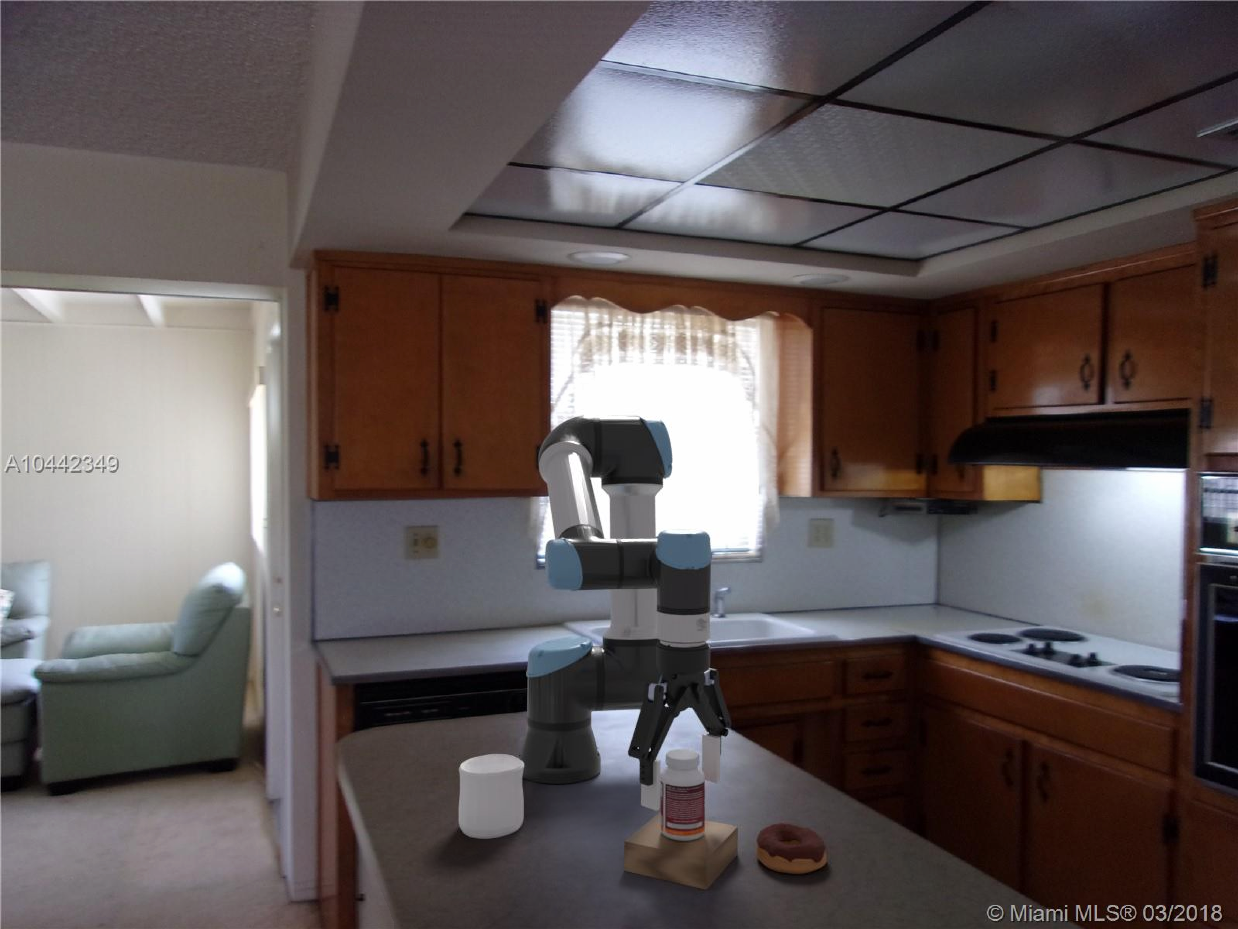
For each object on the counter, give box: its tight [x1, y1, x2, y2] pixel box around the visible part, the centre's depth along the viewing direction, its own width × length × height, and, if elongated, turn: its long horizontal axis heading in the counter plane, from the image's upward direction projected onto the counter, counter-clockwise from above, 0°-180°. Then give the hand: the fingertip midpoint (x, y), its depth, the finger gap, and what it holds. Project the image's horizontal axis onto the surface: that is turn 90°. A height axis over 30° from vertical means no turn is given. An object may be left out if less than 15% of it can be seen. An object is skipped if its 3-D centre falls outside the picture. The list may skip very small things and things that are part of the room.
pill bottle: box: [660, 748, 706, 841], centre depth 126 cm, size 6×6×11 cm
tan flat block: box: [623, 811, 739, 891], centre depth 126 cm, size 12×12×4 cm
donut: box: [755, 822, 828, 875], centre depth 126 cm, size 10×10×4 cm
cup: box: [458, 753, 525, 840], centre depth 138 cm, size 10×10×10 cm
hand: (681, 793), depth 126 cm, fingers open, 13 cm apart
